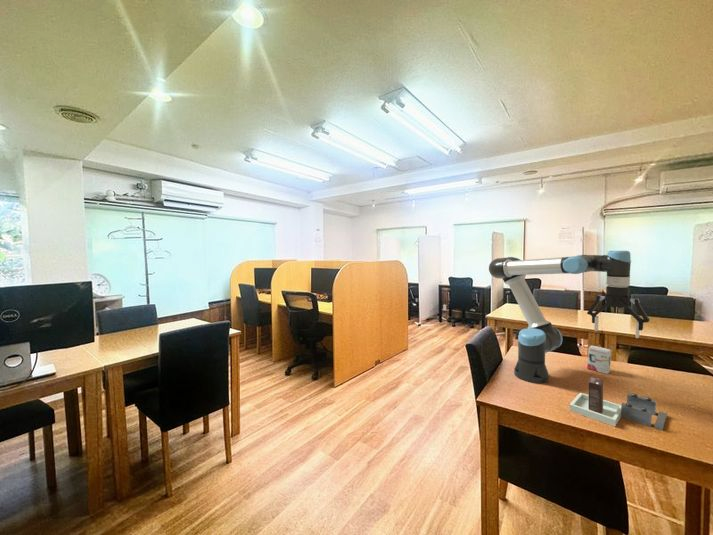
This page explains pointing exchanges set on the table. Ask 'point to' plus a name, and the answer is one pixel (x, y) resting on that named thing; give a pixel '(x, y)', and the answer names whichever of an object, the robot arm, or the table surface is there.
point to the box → (595, 395)
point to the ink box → (599, 359)
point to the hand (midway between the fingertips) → (615, 333)
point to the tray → (608, 415)
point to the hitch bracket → (642, 411)
